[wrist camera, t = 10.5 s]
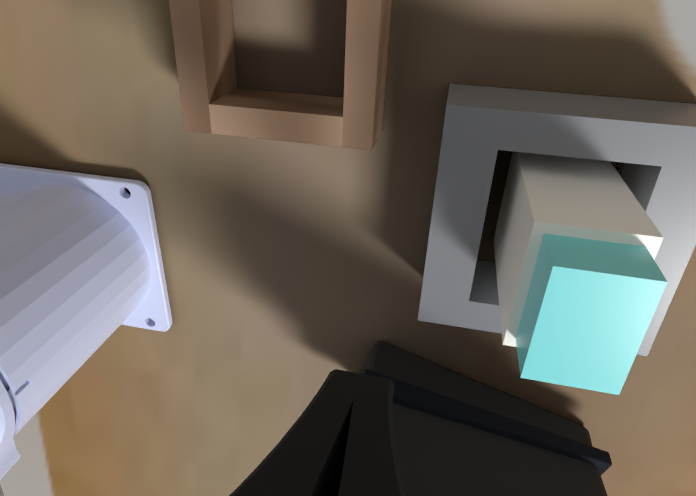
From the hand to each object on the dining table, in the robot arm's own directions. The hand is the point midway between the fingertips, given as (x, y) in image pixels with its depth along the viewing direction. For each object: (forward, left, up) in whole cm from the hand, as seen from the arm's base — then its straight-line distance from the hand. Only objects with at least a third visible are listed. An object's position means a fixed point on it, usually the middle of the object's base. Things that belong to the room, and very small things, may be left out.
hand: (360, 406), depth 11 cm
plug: (+5, +1, -10) cm, 12 cm away
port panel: (+5, +1, -10) cm, 12 cm away
